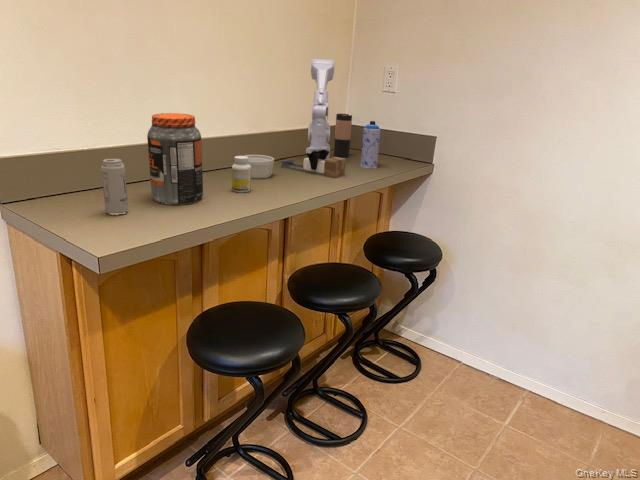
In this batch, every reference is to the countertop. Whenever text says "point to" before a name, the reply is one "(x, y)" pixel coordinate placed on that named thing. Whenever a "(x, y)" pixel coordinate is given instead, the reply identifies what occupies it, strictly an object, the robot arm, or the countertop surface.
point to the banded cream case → (319, 165)
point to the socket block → (334, 167)
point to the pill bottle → (241, 174)
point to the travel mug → (342, 135)
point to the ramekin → (260, 166)
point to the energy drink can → (114, 186)
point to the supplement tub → (175, 159)
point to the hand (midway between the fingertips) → (317, 168)
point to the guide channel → (290, 162)
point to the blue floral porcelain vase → (370, 146)
